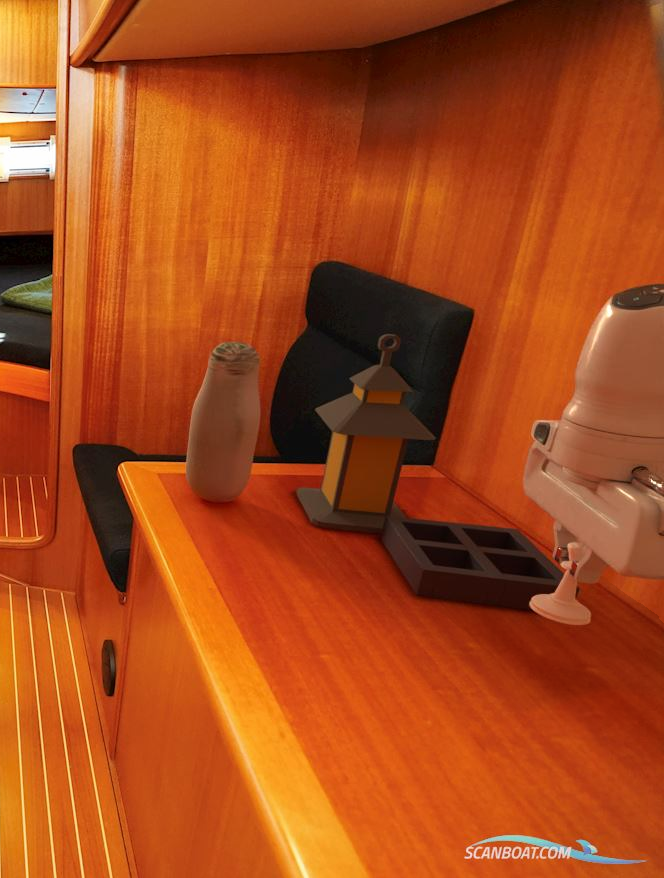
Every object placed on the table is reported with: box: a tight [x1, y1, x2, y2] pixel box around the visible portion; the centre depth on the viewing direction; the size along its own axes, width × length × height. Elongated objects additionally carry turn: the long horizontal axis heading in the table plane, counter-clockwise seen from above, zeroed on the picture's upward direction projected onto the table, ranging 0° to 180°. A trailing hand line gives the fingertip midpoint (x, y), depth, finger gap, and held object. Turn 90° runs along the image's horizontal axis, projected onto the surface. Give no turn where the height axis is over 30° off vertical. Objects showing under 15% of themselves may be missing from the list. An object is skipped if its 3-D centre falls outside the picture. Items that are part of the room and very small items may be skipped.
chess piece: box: [529, 539, 592, 626], centre depth 74 cm, size 5×5×10 cm
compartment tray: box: [379, 516, 580, 612], centre depth 97 cm, size 16×16×4 cm
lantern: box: [296, 333, 437, 535], centre depth 111 cm, size 14×14×30 cm
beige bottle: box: [185, 341, 261, 504], centre depth 118 cm, size 10×10×28 cm
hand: (573, 571), depth 74 cm, fingers closed on chess piece
